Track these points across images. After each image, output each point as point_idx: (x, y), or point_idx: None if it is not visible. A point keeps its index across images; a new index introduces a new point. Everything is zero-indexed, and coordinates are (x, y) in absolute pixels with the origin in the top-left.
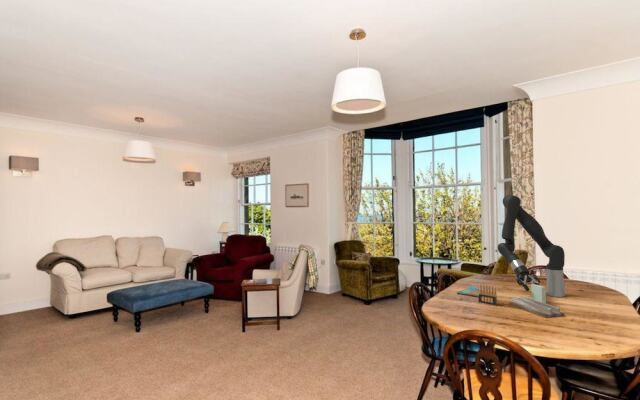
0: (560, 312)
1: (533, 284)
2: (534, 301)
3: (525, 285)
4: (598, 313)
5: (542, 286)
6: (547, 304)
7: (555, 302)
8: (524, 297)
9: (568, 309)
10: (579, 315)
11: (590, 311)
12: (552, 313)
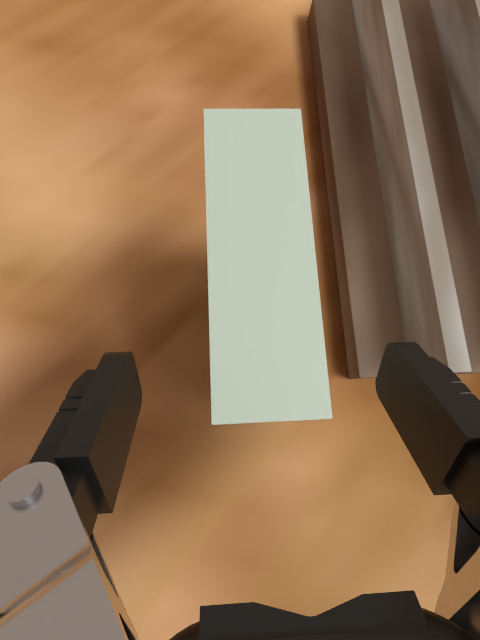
0: (327, 15)
1: (258, 404)
2: (424, 172)
3: (476, 425)
4: (7, 8)
5: (220, 163)
6: (399, 31)
7: (13, 344)
8: (456, 310)
9: (126, 130)
10: (191, 8)
11: (9, 54)
12: (405, 11)
